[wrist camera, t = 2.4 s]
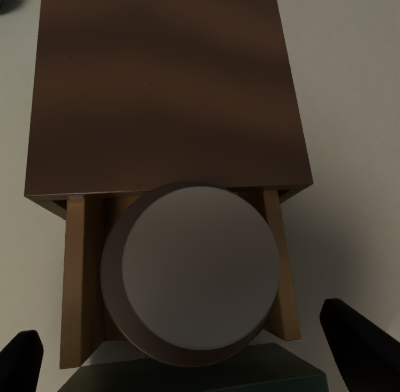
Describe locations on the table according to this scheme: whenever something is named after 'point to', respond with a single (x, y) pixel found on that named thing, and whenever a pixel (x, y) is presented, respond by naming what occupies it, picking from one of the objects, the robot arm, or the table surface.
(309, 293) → the table surface
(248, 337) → the bottle
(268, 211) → the drawer
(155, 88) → the cabinet
